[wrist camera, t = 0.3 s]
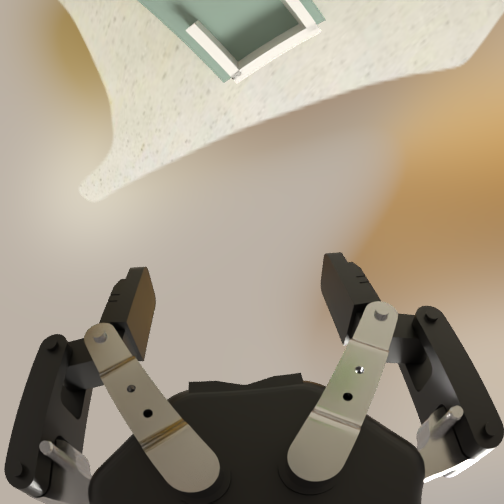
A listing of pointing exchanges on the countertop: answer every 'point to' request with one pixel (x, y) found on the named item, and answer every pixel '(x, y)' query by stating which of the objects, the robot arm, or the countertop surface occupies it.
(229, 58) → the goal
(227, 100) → the countertop surface
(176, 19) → the plate
